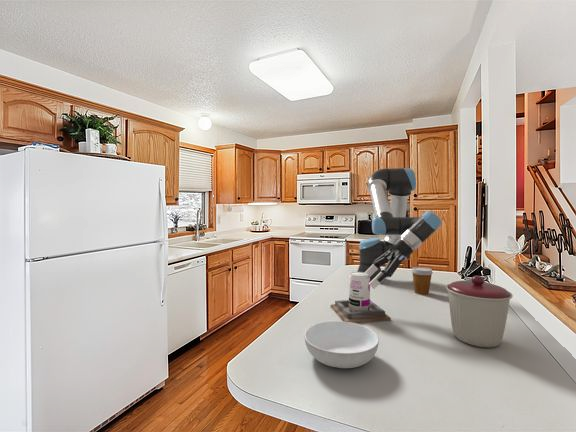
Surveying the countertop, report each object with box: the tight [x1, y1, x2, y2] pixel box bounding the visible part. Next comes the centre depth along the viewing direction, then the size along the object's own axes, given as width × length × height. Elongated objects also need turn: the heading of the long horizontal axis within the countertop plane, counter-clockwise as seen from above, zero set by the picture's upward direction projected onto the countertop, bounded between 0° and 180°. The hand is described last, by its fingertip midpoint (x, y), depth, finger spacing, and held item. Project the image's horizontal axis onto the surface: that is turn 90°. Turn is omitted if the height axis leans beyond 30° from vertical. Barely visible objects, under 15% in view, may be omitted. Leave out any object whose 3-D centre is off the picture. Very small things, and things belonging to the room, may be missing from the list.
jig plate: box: [330, 299, 392, 324], centre depth 121 cm, size 18×18×3 cm
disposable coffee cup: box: [411, 266, 433, 296], centre depth 147 cm, size 10×10×12 cm
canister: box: [445, 275, 514, 348], centre depth 97 cm, size 18×18×21 cm
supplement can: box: [348, 271, 371, 312], centre depth 121 cm, size 8×8×15 cm
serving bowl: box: [303, 320, 380, 369], centre depth 86 cm, size 21×21×7 cm
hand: (367, 281), depth 120 cm, fingers open, 13 cm apart
